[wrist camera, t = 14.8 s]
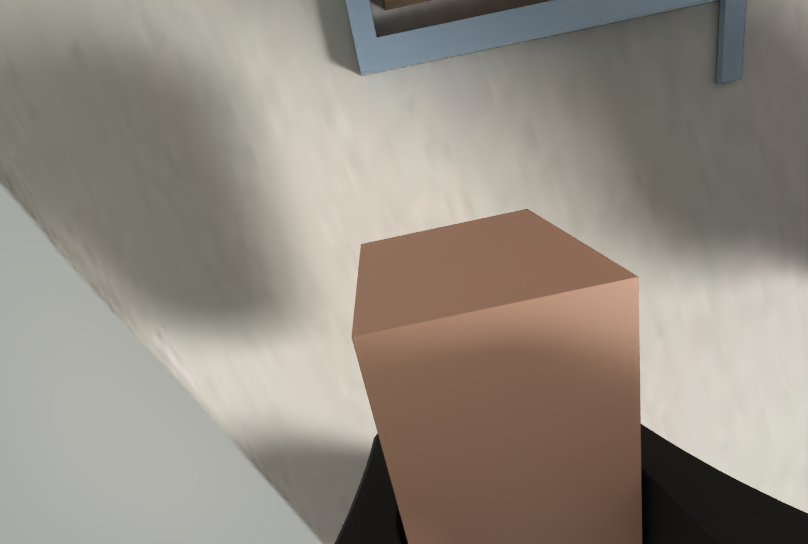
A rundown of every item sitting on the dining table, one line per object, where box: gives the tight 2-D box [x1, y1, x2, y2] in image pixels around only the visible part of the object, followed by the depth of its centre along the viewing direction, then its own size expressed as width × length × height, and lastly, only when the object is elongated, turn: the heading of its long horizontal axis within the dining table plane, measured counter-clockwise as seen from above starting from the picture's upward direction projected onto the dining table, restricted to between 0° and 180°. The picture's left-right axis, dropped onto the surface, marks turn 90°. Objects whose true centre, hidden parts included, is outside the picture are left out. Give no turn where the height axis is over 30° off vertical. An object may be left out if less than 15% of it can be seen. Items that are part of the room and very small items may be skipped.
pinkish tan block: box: [352, 209, 642, 544], centre depth 10 cm, size 4×10×5 cm, turn 11°
